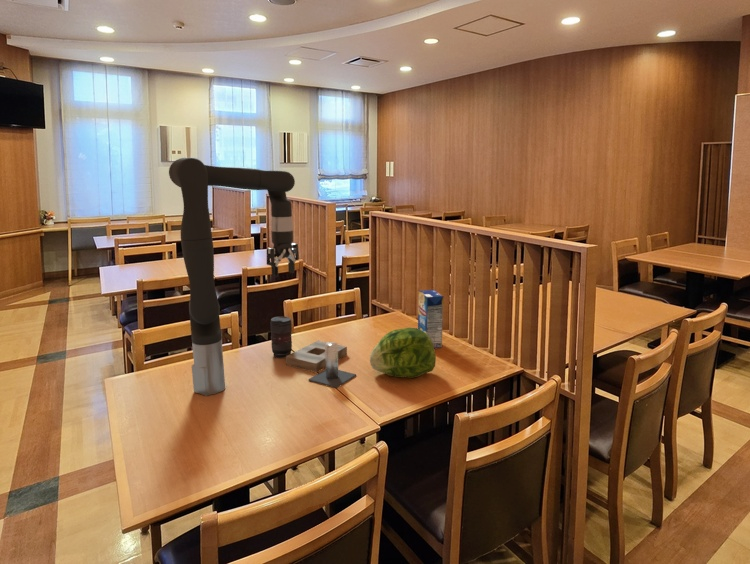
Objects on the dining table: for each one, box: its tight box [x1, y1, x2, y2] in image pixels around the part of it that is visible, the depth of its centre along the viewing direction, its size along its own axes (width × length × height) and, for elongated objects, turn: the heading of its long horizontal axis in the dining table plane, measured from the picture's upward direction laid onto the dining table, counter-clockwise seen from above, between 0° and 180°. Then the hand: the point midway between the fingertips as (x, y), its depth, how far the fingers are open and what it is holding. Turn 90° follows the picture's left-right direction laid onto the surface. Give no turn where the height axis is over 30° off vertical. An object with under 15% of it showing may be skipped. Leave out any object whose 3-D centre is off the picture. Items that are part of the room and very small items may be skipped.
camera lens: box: [270, 315, 293, 359], centre depth 195 cm, size 8×8×15 cm
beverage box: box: [417, 289, 444, 349], centre depth 206 cm, size 7×11×22 cm, turn 14°
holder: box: [285, 340, 348, 373], centre depth 191 cm, size 20×14×4 cm
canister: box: [325, 341, 339, 379], centre depth 173 cm, size 4×4×12 cm
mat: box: [308, 368, 357, 389], centre depth 175 cm, size 12×12×1 cm
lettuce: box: [369, 327, 437, 379], centre depth 176 cm, size 18×23×19 cm
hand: (283, 274), depth 177 cm, fingers open, 8 cm apart
